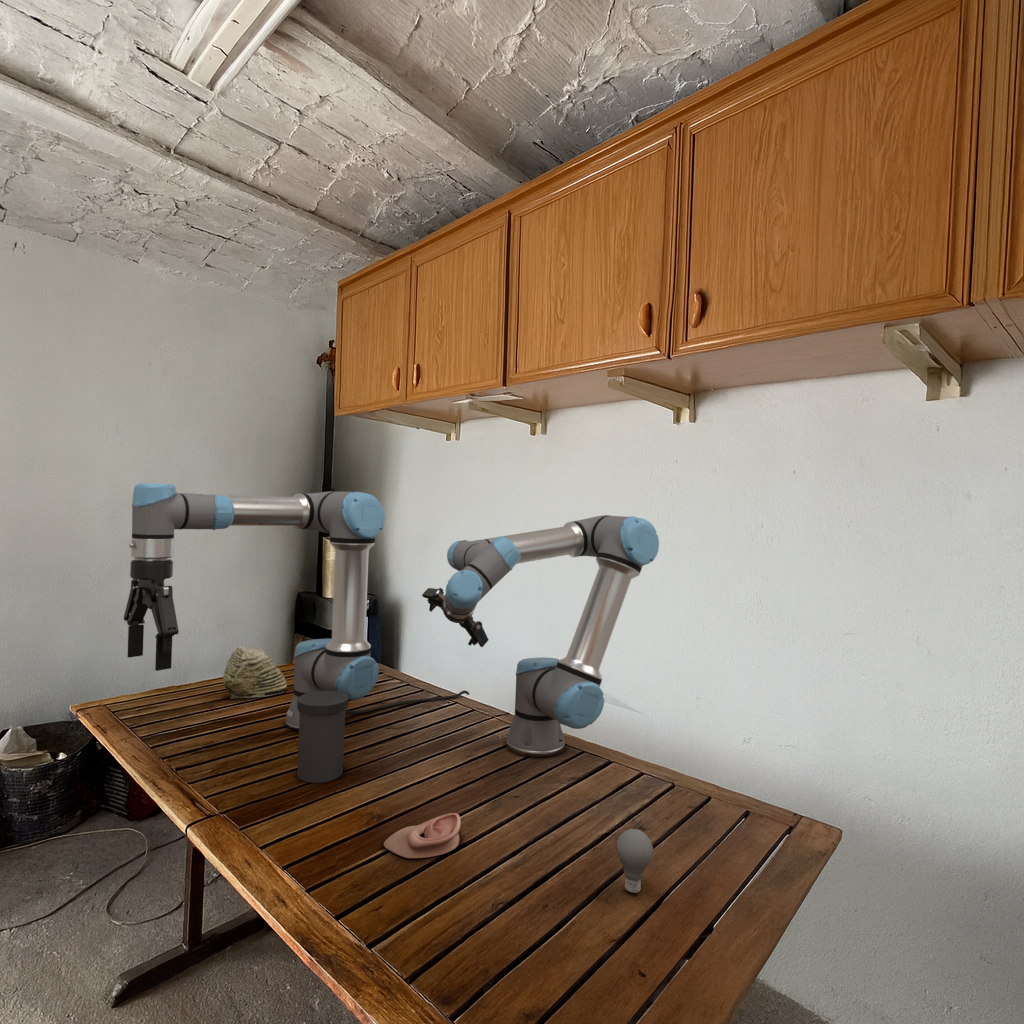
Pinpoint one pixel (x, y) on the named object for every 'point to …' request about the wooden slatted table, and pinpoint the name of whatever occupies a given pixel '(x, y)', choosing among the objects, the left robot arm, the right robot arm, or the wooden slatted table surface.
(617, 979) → the wooden slatted table surface
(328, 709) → the lid
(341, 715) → the jar
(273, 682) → the fossil
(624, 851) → the light bulb
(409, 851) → the anatomical model
